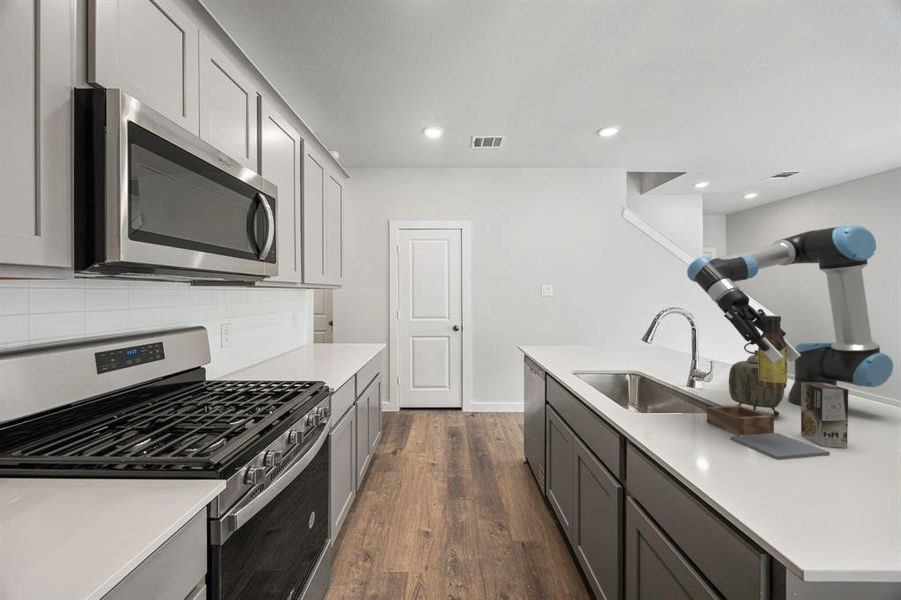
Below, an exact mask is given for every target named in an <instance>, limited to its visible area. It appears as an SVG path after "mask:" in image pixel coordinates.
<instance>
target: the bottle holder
mask: <svg viewBox="0 0 901 600" xmlns="http://www.w3.org/2000/svg"><path fill="white" fill-rule="evenodd" d="M706 423H707V424H709V425H712V426H713V427H714V426H715V427H717V428H720V429H721V428H722V430H723V431H724V430H725V431H726V430H727V432H729V433H731V432H732V434H734V435H735V436H740V435H743V436H745V435H758V434H772V433H775V415H774V416H773V415H771V414H767V413H764V412H761V411H758V410H756V411H755V410H753V409H752V408H749V407H745V406H743V405H741V406H740V405H739V404H736V405H726V406H725V405H724V406H723V405H722V406H720V405H719V406H708V407H706Z"/></svg>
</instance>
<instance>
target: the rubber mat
mask: <svg viewBox="0 0 901 600" xmlns="http://www.w3.org/2000/svg"><path fill="white" fill-rule="evenodd" d="M729 439H730V440H731V441H733V442H736V443H738V444H740V445H742V446H745V447H747V448H750V449H752V450H754V451H757V452H758V453H761V454H763V455H766V456H768V457H771V458H773V459H775V460H786V459H787V460H789V459H797V458H798V459H799V458H810V457H812V456H813V457H821V456H822V455H824V456H830V455H831V453H830V451H828V450H825V449H822V448H820V447H817V446H814V445H811V444H808V443H805V442H804V441H800V440H797V439H795V438H792V437H789V436H786V435H785V434H781V433H779V432H774V433H769V434H756V435H743V436H739V435H735V436H730V437H729Z"/></svg>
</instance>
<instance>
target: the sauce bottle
mask: <svg viewBox="0 0 901 600" xmlns="http://www.w3.org/2000/svg"><path fill="white" fill-rule="evenodd" d="M762 320H763V332H762V334H760V335H761V336H762V338H766V339H767V340H768V341H769V342H770V343H771V344H772V345H773V346H774V347H775V348H776V349H777V351H778V352H779V353H780V354H781V355H782V356H783V358H781V359H780V360H779V361H777V362H776V363H773V362H772V361H771V360H770V359H769V358H768V356H767V355H766V354H765V353H764V352H763V351H762V350H761V349H760V348H759V347H758V346H757V347H758V349H757V351H758V380H759V385H760V386H761V387H765V388H770V389H784V390H785V389H786V388H787V383H788V358H787V345H786V343H785V340H786V339H785V337H784V336H783V335H782V333H781V329H782V328H781V322H782V316H781V315H769V314H768V315H767V314H766V316H762ZM780 328H781V329H780ZM762 338H761V339H762ZM784 339H785V340H784Z"/></svg>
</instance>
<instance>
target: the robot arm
mask: <svg viewBox="0 0 901 600" xmlns="http://www.w3.org/2000/svg"><path fill="white" fill-rule="evenodd" d="M876 249H877V242H876V239H875V236H874V234H873V233H872V232H871V231H870V230H869V229H867V228H866V227H864V226H861V225H857V224H855V225H853V224H851V225H840V226H835V227H829V228H823V229H822V228H821V229H815V230H814V229H813V230H808V231H805V232H800V233H797V234H795V235H792V236H789V237H785V238H782V239H778V240H776V241H774V242H772V244H768V245H764V246H760V247H757V248H753V249H748V250H745V251H740V252H736V253H732V254H727V255H723V256H719V257H716V258H710V257H709V256H701V257H698V258H696V259H695V260H693V261H692V262H691V263H689V265H688V267H687V270H686V273H687V277H688V279H689V280H690V281H691V282H694V283H697V284H698V285H699V287H701V289H702V290H703V291H704V292H705V293H706V294H707V295H708V296H709V298H710V299H711V301H712V302H714V303H715V304H716V305H717V306H718V307H719V309H720V310H721V311H722V312H723V313H724V314H723V316H724V318H726V319H727V321H729V322H730V323H731V324H732V326H733V327H734V328H735V329H736V330H737V332H738V333H739V334H740V335H741V337H742V338H743V339H744V341H746V342H748V343H750V344H749V345H751V346H754V345H756V346H757V347H759V348H760V349H761V350H762V351H763V352H764V353H765V354H766V355H767V356H768V358H769V359H770V360H771V361H772V362H773V363H776V362H777V361H779V360H780V359H781V358H783V356H782V355H781V354H780V353H779V352H778V351H777V349H776V348H775V347H774V346H773V345H772V344H771V343H770V342H769V341H768V340H767V339H766V338H762V336H761V335H762V334H761V333H760V331H761V332H762V333H763V320H762V316H766V315H767V314H766V312H765V311H764V310H763V309H762V308H759V309H758V310H757V309H755V308H754V307H752V306H751V305H750V304H749V303H750V298H749V296H748V295H747V294H746V293H744V291H743V290H741V289H740V287H739V286H738V285H737V284H736V283H735V282H741V281H746V280H748V279H752V278H754V277H756V276H757V274H758V273H759V270H761V269H765V268H766V269H767V268H769V267H773V266H782V267H783V266H789V265H797V264H800V265H801V264H818V267H819V271H821V272H823V273H825V275H826V280H827V286H828V287H827V288H828V294H829V301H830V309H831V313H832V314H831V315H832V323H833V328H834V329H833V330H834V335H835V336H834V337H835V341H834V342H810V343H809V342H803V343H798V344H797V345H796V346H795V348H794V346H792V344H791V343H790V342H789V341H788V340H786V338H784V340H785V343H786V345H787V360H788V361H790V362H794V382H793V384H792V386H791V389H790V392H789V393H788V398H787V399H788V400H787V401H788V402H790V403H792V404H795V405H798V406H801V382H825V383H829V384H832V385H835V386H838V385H837V384H838V383H837V382H842V383H844V384H845V383H846V384H850V385H856V386H857V387H866V388H877V387H879V386H882V385H883V384H885V383H886V382H887V381H888V380H889V379H890V377H891V376H892V374H893V368H894V363H893V360H892V358H891V357H890V356H889V355H887V354H885V353H884V352H881V349H880V344H878V343H877V342H876V341H873V339H872V332H871V325H870V318H869V311H868V304H867V297H866V291H865V283H864V282H865V281H864V275H863V269H864V268H865V267H866V266H867V265H868V260H869V259H870V258H872V257H873V256H874V255H875V251H876ZM780 329H781V333H782V335H783V337H785V336H786V335H787V333H786V332H785V331H784V330H783V329H782V328H781V327H780ZM759 330H760V331H759ZM761 338H762V339H761ZM755 343H756V344H755Z"/></svg>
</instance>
